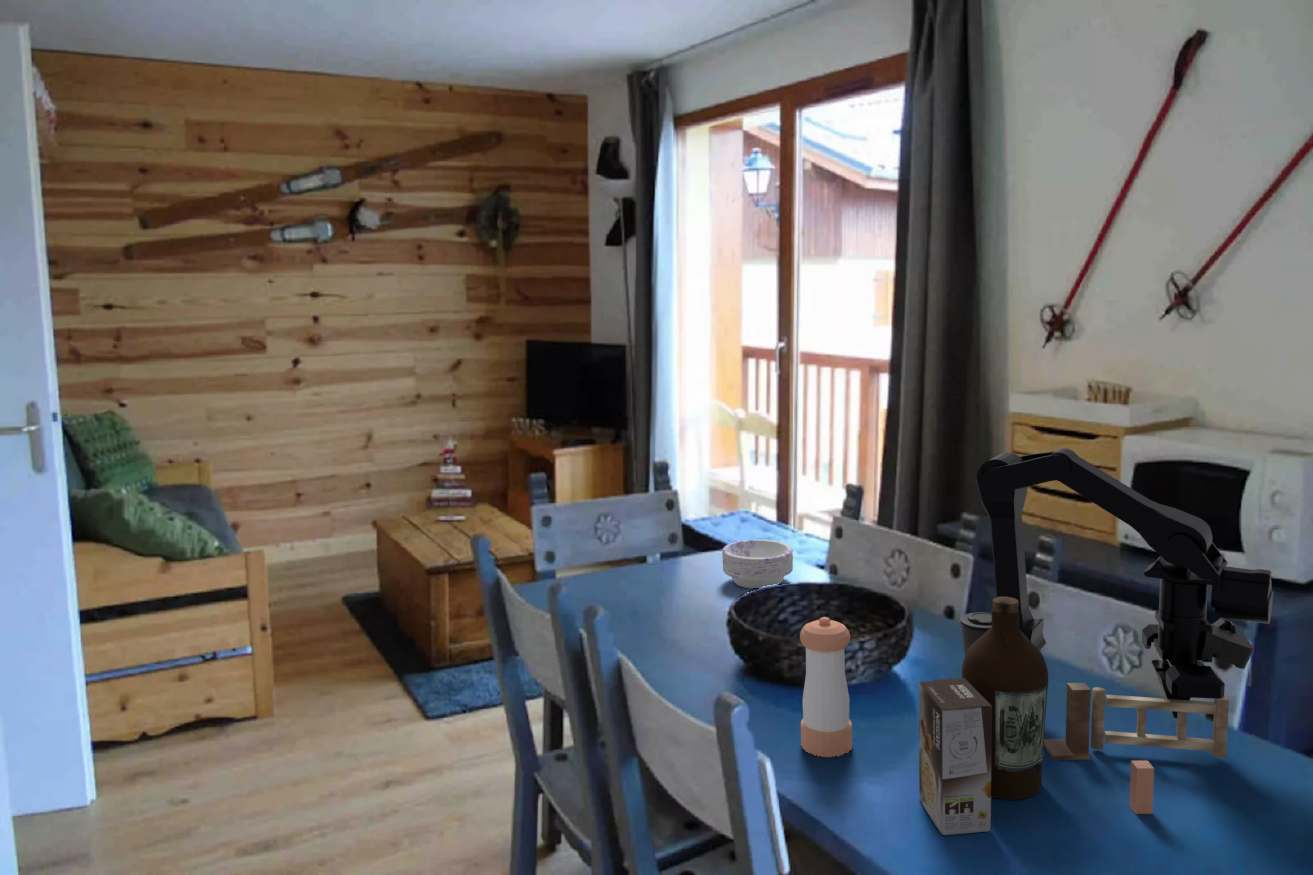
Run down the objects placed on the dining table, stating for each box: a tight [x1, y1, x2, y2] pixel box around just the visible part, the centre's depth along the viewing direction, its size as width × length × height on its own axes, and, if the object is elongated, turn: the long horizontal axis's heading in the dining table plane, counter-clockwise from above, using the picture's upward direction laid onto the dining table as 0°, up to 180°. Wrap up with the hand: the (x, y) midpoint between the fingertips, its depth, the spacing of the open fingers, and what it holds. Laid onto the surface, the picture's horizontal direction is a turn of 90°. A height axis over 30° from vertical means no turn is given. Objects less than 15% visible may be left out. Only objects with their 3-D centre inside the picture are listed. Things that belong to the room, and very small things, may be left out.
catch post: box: [1128, 760, 1155, 815], centre depth 128 cm, size 2×2×6 cm
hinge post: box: [1043, 682, 1092, 761], centre depth 144 cm, size 5×5×10 cm
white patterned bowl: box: [722, 539, 794, 590], centre depth 226 cm, size 15×15×8 cm
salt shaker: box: [799, 616, 853, 758], centre depth 148 cm, size 7×7×19 cm
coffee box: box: [918, 677, 992, 836], centre depth 128 cm, size 9×6×16 cm
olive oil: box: [961, 596, 1049, 801], centre depth 135 cm, size 11×11×25 cm
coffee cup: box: [958, 611, 992, 656], centre depth 172 cm, size 8×8×10 cm
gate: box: [1090, 686, 1230, 759], centre depth 141 cm, size 17×2×8 cm, turn 74°
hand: (1178, 717), depth 143 cm, fingers closed
